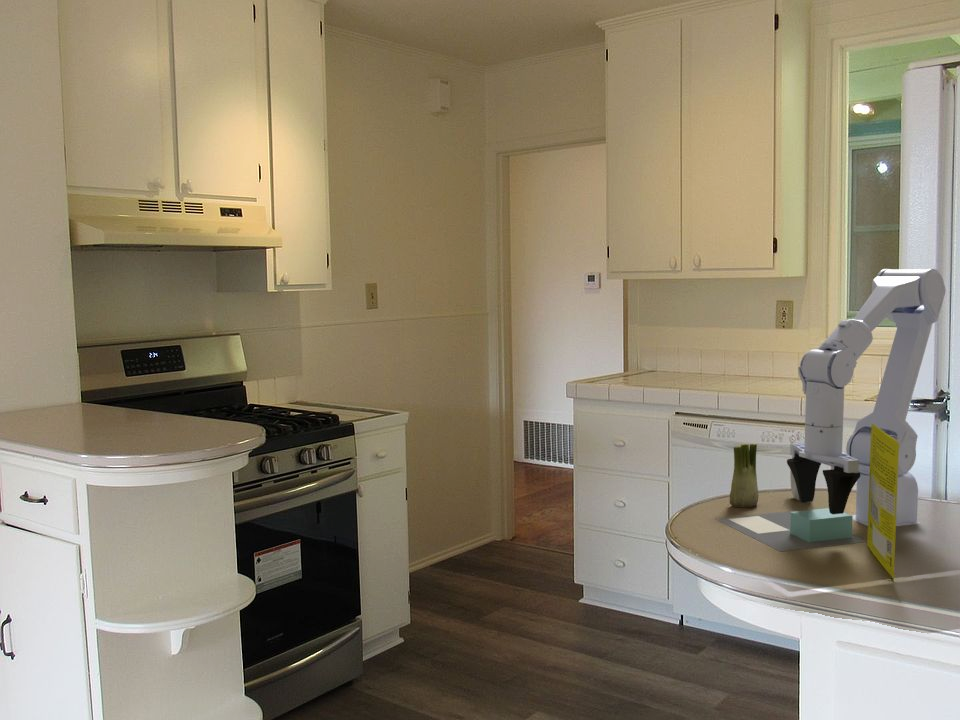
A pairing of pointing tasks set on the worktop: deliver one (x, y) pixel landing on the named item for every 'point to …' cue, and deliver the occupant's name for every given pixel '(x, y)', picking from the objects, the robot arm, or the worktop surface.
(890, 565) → the food package
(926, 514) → the worktop surface
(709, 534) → the worktop surface
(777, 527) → the mat
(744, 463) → the fennel bulb
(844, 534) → the card box
